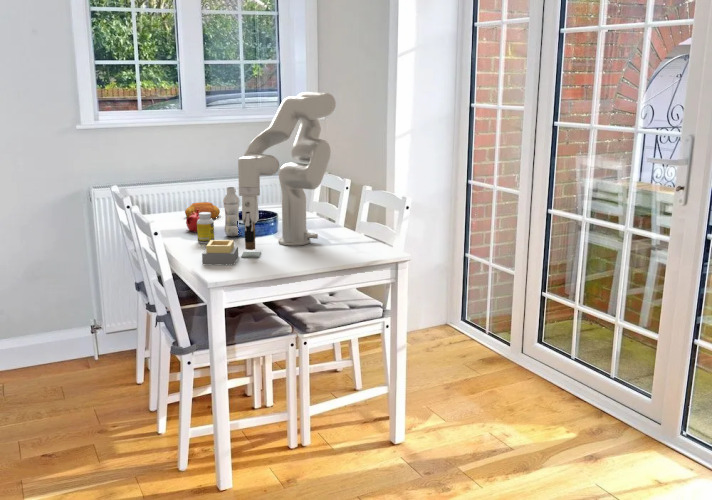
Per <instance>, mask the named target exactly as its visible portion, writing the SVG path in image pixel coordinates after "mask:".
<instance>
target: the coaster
mask: <svg viewBox="0 0 712 500" xmlns="http://www.w3.org/2000/svg"><path fill="white" fill-rule="evenodd" d="M261 254H262V251H243V252H242V254H241V256H240V258H241V259H259V258H260V257H261Z"/></svg>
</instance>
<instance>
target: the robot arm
mask: <svg viewBox="0 0 712 500" xmlns="http://www.w3.org/2000/svg"><path fill="white" fill-rule="evenodd" d="M336 103H337V102H336V99H335V97H334V95H332V94H331V93H329V92H316V91H312V92H311V91H304V92H300V93H299V94H297V95H296V96H287V97H285V98H284V99H283V100H282V101H281V103H280V105H279V107H278V109H277V110H276V113H275V115H274V117H273V119H272V120H271V123H270V125H269V127H267V128H266V129H265V130H264V131H262V132H261V133H259V134H258V135H257V136H256V137H254V139H252V141H250V143H249V145H248V146H247V148H246V150H245V152H244V154H243V156H241V157H239V158H238V160H237V161H238V162H237V168H238V169H237V171H238V175H237V176H238V197H239V196H240V197H241V215H242V216H241V217H242V218H241V219H242V223H243V224H244V243H245V242H254V231H253V222H254V224H255V225H256V223H258V221H259V218H260V217H259V216H260V215H259V199H258V198H259V196H260V195H261V191H260V190H261V189H260V188H261V185H260V183H261V182H260V181H261V180H260V179H261V178H260V177H261V176H265V177H266V176H269V177H270V176H273V175H275V174H276V173H278V180H279V185H280V186H279V187H280V190H281V193H280V194H281V219H282V220H281V225H282V226H281V227H282V228H281V229H282V230H281V231H282V233H281V234H282V236H281V237H280V238H279V239H278V244H279V245H280V244H281V245H284V246H289V247H291V246H292V247H293V246H294V247H296V246H305V245H308V244H310V243H311V239H318V238H319V237H318V233H315V232H308V231H309V230H308V229H307V196H306V193H305V191H304V190H309V191H310V190H316V189H318V187H320V185H321V183H322V181H323V178H324V175H325V173H326V169H327V168H328V164H329V161H330V159H331V151H332V150H331V146H330V144H329V142H328V141H326V140H324V139H320V135H321V131H322V128H321V123H320V121H319V119H320V118H324V117H328V116H330V115H331V114H333V112H334V111H335V109H336V105H337V104H336ZM298 121H299V128H298V131H297V134H296V136H295V139H294V142H293V144H292V146H291V153H290V154H291V158H292V159H293V160H295V161H296V162H286V163H283V165H281V167H280V162H279V159H278V158H277V157H276V156H274V155H271V154H264V153H265V151H267V150H268V149H269V148H272V147H274V146H277V145H279V144H282V143H284V142H286V141H288V140H289V139H290V137H292V134H293V132H294V130H295V128H296V126H297V123H298ZM250 221H252V223H250Z"/></svg>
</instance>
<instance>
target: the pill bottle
mask: <svg viewBox="0 0 712 500" xmlns="http://www.w3.org/2000/svg"><path fill="white" fill-rule="evenodd" d="M199 217H200V219H198V221H197V232H196V233H197V242H198V243H199V244H208V243H209V242H210V240H215V226H214V225H215V224H214V223H215V222H214V219H211V218H210V217H211V213H210V212H201V213H199Z"/></svg>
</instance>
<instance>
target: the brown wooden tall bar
mask: <svg viewBox="0 0 712 500" xmlns="http://www.w3.org/2000/svg"><path fill="white" fill-rule="evenodd" d="M250 223H252V221H250ZM253 231H254V242H245V241H244V246H245V250H246V251H247V250H248V251H253V250H255V249H256V223H255V224H254V222H253Z"/></svg>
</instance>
